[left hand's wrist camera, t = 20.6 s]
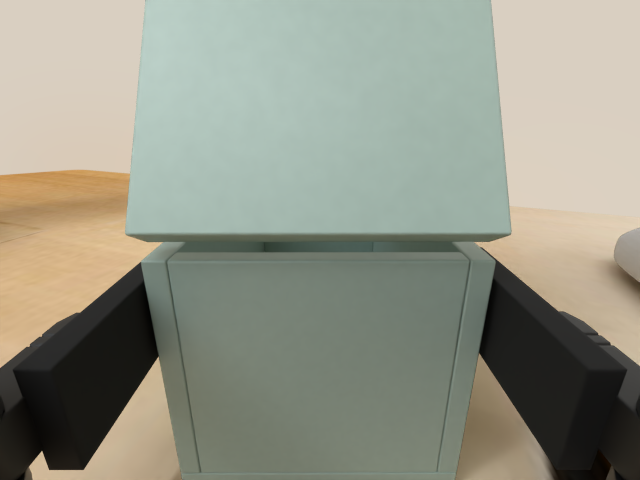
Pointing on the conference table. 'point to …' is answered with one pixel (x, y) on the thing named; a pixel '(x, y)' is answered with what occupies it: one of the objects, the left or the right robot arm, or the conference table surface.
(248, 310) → the chest
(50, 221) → the conference table surface
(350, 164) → the lid
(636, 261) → the projector
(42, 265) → the conference table surface
